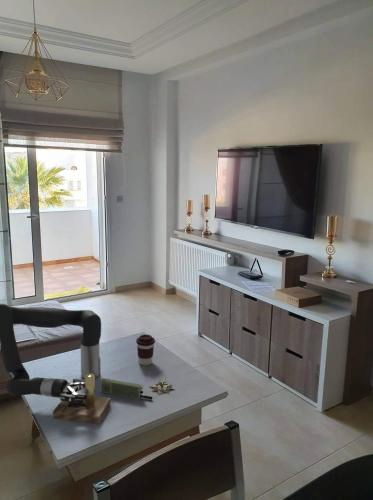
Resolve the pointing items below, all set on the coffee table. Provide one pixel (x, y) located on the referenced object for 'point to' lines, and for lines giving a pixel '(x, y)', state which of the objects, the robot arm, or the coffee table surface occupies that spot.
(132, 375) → the coffee table surface
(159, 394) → the lily flower
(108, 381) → the handheld radio
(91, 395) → the brass peg
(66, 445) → the coffee table surface
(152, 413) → the coffee table surface
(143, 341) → the coffee cup
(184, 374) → the coffee table surface
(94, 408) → the keyhole plate
